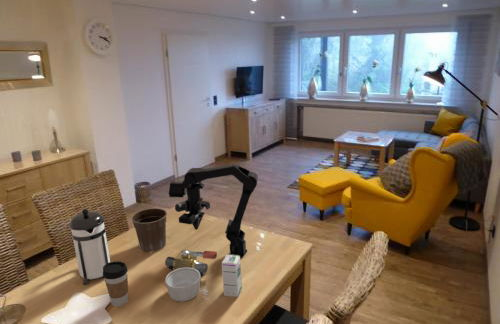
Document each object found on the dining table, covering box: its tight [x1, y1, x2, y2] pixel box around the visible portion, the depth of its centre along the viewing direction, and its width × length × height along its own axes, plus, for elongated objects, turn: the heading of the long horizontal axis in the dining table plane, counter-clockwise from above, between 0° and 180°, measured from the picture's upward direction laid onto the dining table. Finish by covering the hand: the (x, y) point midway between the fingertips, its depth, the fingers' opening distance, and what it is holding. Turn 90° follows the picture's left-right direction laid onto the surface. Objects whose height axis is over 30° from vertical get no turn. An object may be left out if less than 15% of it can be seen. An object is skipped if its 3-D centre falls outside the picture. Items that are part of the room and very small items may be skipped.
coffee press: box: [68, 208, 111, 286], centre depth 143 cm, size 17×16×30 cm
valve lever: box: [180, 248, 218, 260], centre depth 145 cm, size 15×3×2 cm, turn 80°
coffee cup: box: [102, 260, 129, 307], centre depth 128 cm, size 8×8×15 cm
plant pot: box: [130, 207, 168, 253], centre depth 166 cm, size 16×16×16 cm
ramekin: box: [164, 268, 202, 302], centre depth 133 cm, size 13×13×7 cm
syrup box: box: [221, 254, 243, 298], centre depth 132 cm, size 6×6×14 cm
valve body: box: [164, 251, 209, 277], centre depth 147 cm, size 18×6×7 cm, turn 70°
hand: (196, 229), depth 158 cm, fingers closed
